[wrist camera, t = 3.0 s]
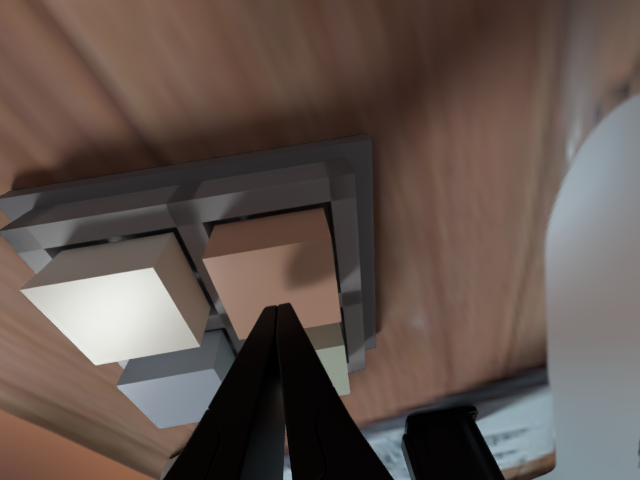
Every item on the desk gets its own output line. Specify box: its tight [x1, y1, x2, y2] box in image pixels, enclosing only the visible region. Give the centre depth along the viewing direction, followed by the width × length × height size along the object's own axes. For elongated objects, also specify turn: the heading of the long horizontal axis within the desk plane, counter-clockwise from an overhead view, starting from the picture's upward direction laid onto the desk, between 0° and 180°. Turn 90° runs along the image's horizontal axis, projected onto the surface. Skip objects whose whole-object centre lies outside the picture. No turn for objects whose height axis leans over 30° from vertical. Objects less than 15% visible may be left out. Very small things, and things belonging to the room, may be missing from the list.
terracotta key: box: [202, 208, 341, 340], centre depth 11 cm, size 4×4×2 cm
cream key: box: [20, 232, 211, 365], centre depth 11 cm, size 4×4×2 cm
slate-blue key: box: [117, 329, 236, 429], centre depth 14 cm, size 4×4×2 cm
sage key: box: [304, 322, 350, 396], centre depth 14 cm, size 4×4×2 cm
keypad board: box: [0, 134, 376, 373], centre depth 14 cm, size 14×13×2 cm
